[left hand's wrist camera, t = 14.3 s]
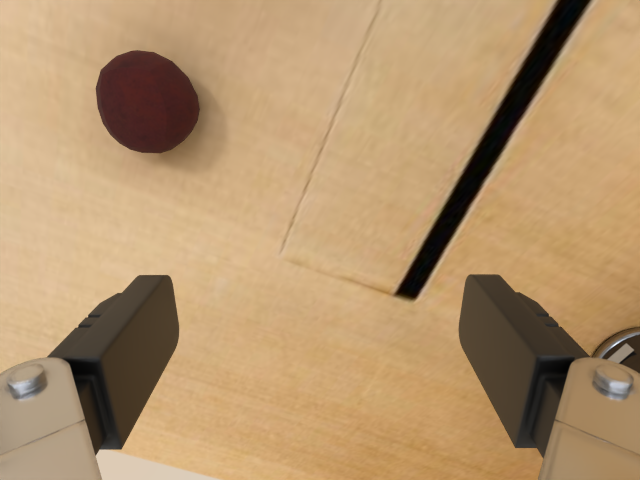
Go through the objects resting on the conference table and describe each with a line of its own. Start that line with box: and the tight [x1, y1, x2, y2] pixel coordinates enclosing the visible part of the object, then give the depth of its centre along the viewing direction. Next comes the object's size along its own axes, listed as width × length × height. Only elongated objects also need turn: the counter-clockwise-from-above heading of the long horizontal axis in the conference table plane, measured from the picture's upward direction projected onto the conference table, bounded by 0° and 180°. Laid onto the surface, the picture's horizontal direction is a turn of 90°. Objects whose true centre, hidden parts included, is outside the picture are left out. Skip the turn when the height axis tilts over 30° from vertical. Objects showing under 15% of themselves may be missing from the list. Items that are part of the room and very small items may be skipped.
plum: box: [96, 50, 200, 153], centre depth 32 cm, size 7×8×7 cm
